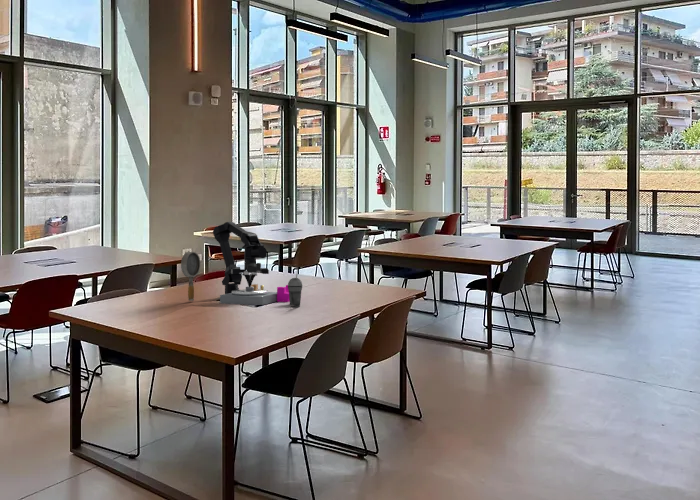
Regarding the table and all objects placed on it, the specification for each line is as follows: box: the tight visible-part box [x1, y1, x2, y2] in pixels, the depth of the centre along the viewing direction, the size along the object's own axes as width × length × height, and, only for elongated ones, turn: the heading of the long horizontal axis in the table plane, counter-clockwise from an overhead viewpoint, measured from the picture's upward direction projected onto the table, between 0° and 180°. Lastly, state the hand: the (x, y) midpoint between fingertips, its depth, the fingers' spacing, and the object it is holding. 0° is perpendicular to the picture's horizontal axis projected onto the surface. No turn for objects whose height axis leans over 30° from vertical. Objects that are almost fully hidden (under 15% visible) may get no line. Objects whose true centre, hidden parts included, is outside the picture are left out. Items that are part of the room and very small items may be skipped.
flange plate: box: [232, 283, 269, 295], centre depth 325 cm, size 20×18×4 cm
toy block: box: [276, 284, 290, 303], centre depth 333 cm, size 15×6×8 cm, turn 166°
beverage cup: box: [287, 268, 303, 309], centre depth 314 cm, size 7×7×20 cm
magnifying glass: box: [180, 251, 201, 302], centre depth 330 cm, size 13×3×25 cm, turn 160°
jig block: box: [219, 291, 277, 306], centre depth 326 cm, size 23×23×4 cm
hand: (249, 287), depth 333 cm, fingers closed
